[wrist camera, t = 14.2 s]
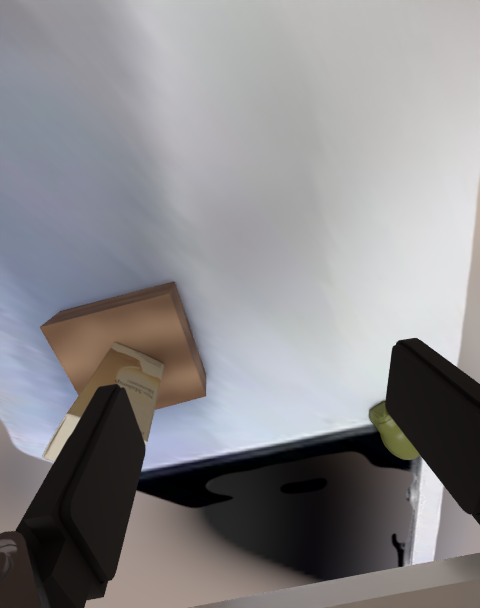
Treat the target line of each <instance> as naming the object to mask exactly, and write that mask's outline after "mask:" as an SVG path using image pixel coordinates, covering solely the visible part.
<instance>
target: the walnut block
mask: <svg viewBox="0 0 480 608" xmlns="http://www.w3.org/2000/svg"><path fill="white" fill-rule="evenodd" d="M40 329H41V330H42V332H43V334H44V336H45V337H46V339H47V341H48V343H49V344H50V346H51V348H52V350H53V351H54V353H55V355H56V357H57V358H58V360H59V362H60V364H61V365H62V367H63V369H64V371H65V372H66V374H67V376H68V377H69V379H70V381H71V383H72V384H73V386H74V388H75V390H76V391H77V393H78V395H80V393H81V392H82V390H83V389H84V387H85V386H86V384H87V383H88V381H89V380H90V378H91V377H92V375H93V374H94V372H95V371H96V369H97V368H98V366H99V365H100V363H101V362H102V360H103V359H104V357H105V356H106V354H107V353H108V351H109V350H110V348H111V347H112V345H113V344H114V343H118V344H120V345H123V346H125V347H128V348H130V349H133V350H135V351H137V352H140V353H142V354H144V355H146V356H148V357H150V358H153V359H155V360H157V361H159V362H161V363H163V364H164V369H163V374H162V378H161V383H160V387H159V392H158V397H157V401H156V406H155V410H156V409H160V408H164V407H167V406H171V405H175V404H179V403H182V402H186V401H190V400H193V399H197V398H201V397H204V396H206V373H205V370H204V367H203V364H202V361H201V358H200V355H199V353H198V350H197V347H196V344H195V341H194V338H193V335H192V332H191V329H190V326H189V323H188V320H187V317H186V314H185V311H184V309H183V306H182V303H181V300H180V297H179V294H178V291H177V288H176V285H175V282H171V283H167V284H163V285H159V286H155V287H152V288H148V289H144V290H140V291H136V292H132V293H128V294H125V295H121V296H117V297H113V298H109V299H105V300H101V301H98V302H94V303H90V304H86V305H82V306H78V307H74V308H71V309H67V310H63V311H60V312H59V313H57V314H56V315H55V316H54V317H52V318H51V319H50V320H48V321H47V322H46V323H44V324H43V325H42V326H41V327H40Z"/></svg>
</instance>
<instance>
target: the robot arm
mask: <svg viewBox="0 0 480 608" xmlns="http://www.w3.org/2000/svg"><path fill="white" fill-rule="evenodd" d="M385 406H386V410H387V412H388V414H389V415H390V417H391V418H392V419H393V420H394V422H395V423H396V424H397V426H398V427H399V428H400V430H401V431H402V432H403V433H404V435H405V436H406V437H407V439H408V440H409V441H410V442H411V444H412V445H413V446H414V448H415V449H416V450H417V451H418V453H419V454H420V455H421V457H422V458H423V459H424V460H425V462H426V463H427V464H428V466H429V467H430V468H431V469H432V471H433V472H434V473H435V475H436V476H437V477H438V479H439V480H440V481H441V482H442V484H443V485H444V486H445V488H446V489H447V490H448V491H449V493H450V494H451V495H452V497H453V498H454V499H455V500H456V502H457V503H458V504H459V506H460V507H461V508H462V509H463V510H464V511H465V512H466V513H468V514H472V516H473V517H474V518H475V519H476V521H477V522H478V523H479V524H480V384H479V383H478V382H476V381H475V380H474V379H472V378H471V377H470V376H468V375H467V374H465V373H464V372H463V371H461V370H460V369H459V368H457V367H456V366H455V365H453V364H452V363H451V362H449V361H448V360H447V359H445V358H444V357H442V356H441V355H440V354H438V353H437V352H436V351H434V350H433V349H432V348H430V347H429V346H428V345H426V344H425V343H424V342H422V341H421V340H419V339H417V338H411V339H405V340H399V341H398V342H397V343H396V345H395V346H393V348H392V354H391V362H390V370H389V378H388V386H387V394H386V401H385ZM144 457H145V442H144V439H143V437H142V434H141V431H140V428H139V425H138V423H137V420H136V417H135V414H134V412H133V409H132V406H131V403H130V400H129V398H128V395H127V392H126V390H125V388H124V387H122V388H120V386H119V385H118V384H112V385H106V386H100V387H98V388H97V390H96V391H95V393H94V395H93V397H92V399H91V400H90V402H89V404H88V406H87V407H86V409H85V411H84V413H83V415H82V416H81V418H80V420H79V422H78V423H77V425H76V427H75V429H74V430H73V432H72V434H71V435H70V436H69V438H68V439H67V441H66V443H65V444H64V446H63V448H62V450H61V451H60V453H59V455H58V457H57V458H56V460H55V462H54V464H53V465H52V467H51V469H50V471H49V473H48V474H47V476H46V478H45V480H44V481H43V484H42V485H41V487H40V488H39V490H38V492H37V494H36V496H35V497H34V499H33V501H32V502H31V504H30V506H29V508H28V509H27V511H26V513H25V515H24V517H23V518H22V520H21V522H20V524H19V525H18V527H17V529H16V531H8V532H3V533H0V608H84V606H85V603H86V600H91V599H96V598H101V597H104V594H105V591H106V587H107V583H108V581H110V580H112V579H113V577H114V576H115V573H116V570H117V565H118V562H119V558H120V554H121V550H122V546H123V542H124V537H125V533H126V529H127V525H128V521H129V517H130V513H131V509H132V505H133V501H134V497H135V493H136V489H137V485H138V481H139V477H140V473H141V469H142V465H143V461H144ZM191 608H480V553H476V554H471V555H465V556H460V557H455V558H449V559H444V560H438V561H432V562H427V563H421V564H416V565H410V566H405V567H399V568H394V569H389V570H384V571H379V572H373V573H368V574H362V575H357V576H352V577H346V578H341V579H336V580H330V581H325V582H320V583H315V584H309V585H304V586H299V587H293V588H288V589H283V590H278V591H272V592H267V593H262V594H257V595H252V596H247V597H241V598H236V599H231V600H226V601H221V602H216V603H211V604H206V605H200V606H195V607H191Z"/></svg>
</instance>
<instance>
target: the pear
mask: <svg viewBox="0 0 480 608" xmlns="http://www.w3.org/2000/svg"><path fill="white" fill-rule="evenodd" d="M370 420H371V422H372V423H373V424H374V425H375V426H376V428H377V430H378V431H379V432H380V434H381V439H382V441H383V443H384V445H385V446H386V447H387V449H388V450H389V451H390V452H391V453H393V454H394V455H395V456H397V457H399V458H401V459H405V460H411V459H414V458H416V457H418V456H419V455H420V454H419V453H418V451H417V450H416V449H415V448H414V446H413V445H412V444H411V442H410V441H409V440H408V439H407V437H406V436H405V435H404V433H403V432H402V431H401V430H400V428H399V427H398V426H397V424H396V423H395V422H394V420H393V419H392V418H391V417H390V415H389V414H388V412H387V410H386V406H385V402H383V403H381V404H379V405H377V406H376V407H374V408H373V409H371V410H370Z"/></svg>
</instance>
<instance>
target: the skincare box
mask: <svg viewBox="0 0 480 608" xmlns="http://www.w3.org/2000/svg"><path fill="white" fill-rule="evenodd" d="M163 369H164V364H163V363H161V362H159V361H157V360H155V359H153V358H150V357H148V356H146V355H144V354H142V353H140V352H137V351H135V350H133V349H130V348H128V347H125V346H123V345H120V344H118V343H114V344H113V345H112V347H111V348H110V350H109V351H108V353H107V354H106V356H105V357H104V359H103V360H102V362H101V363H100V365H99V366H98V368H97V369H96V371H95V372H94V374H93V375H92V377H91V378H90V380H89V381H88V383H87V384H86V386H85V387H84V389H83V390H82V392H81V393H80V395H79V396H78V398H77V399H76V401H75V402H74V404H73V405H72V407H71V408H70V409H69V411H68V412H67V414H66V415H65V417H64V419H63V420H62V422H61V424H60V425H59V427H58V428H57V430H56V432H55V433H54V435H53V437H52V439H51V440H50V442H49V444H48V446H47V448H46V449H45V451H44V453H43V455H42V458H43V459H45V460H49V461H52V462H55V460H56V458H57V457H58V455H59V453H60V451H61V450H62V448H63V446H64V444H65V443H66V441H67V439H68V438H69V436H70V435H71V434H72V432H73V430H74V429H75V427H76V425H77V423H78V422H79V420H80V418H81V416H82V415H83V413H84V411H85V409H86V407H87V406H88V404H89V402H90V400H91V399H92V397H93V395H94V393H95V391H96V390H97V388H98V387H100V386H106V385H112V384H118V385H119V386H120V388H122V387H124V388H125V390H126V392H127V395H128V398H129V400H130V403H131V406H132V409H133V412H134V414H135V417H136V420H137V423H138V425H139V428H140V431H141V434H142V437H143V439H144V442H145V446H146V444H147V441H148V437H149V433H150V428H151V424H152V419H153V415H154V410H155V406H156V401H157V397H158V392H159V387H160V383H161V378H162V374H163Z"/></svg>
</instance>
